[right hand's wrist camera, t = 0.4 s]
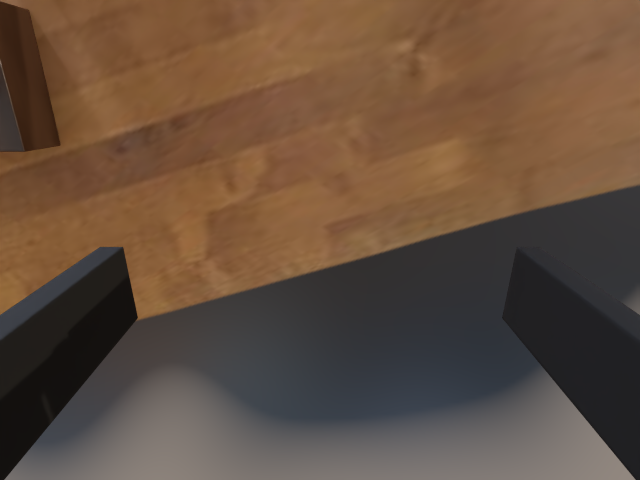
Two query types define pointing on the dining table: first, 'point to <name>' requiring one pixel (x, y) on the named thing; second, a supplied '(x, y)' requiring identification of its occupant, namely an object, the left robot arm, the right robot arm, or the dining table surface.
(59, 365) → the right robot arm
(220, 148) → the dining table surface
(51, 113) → the peg stand
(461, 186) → the dining table surface
